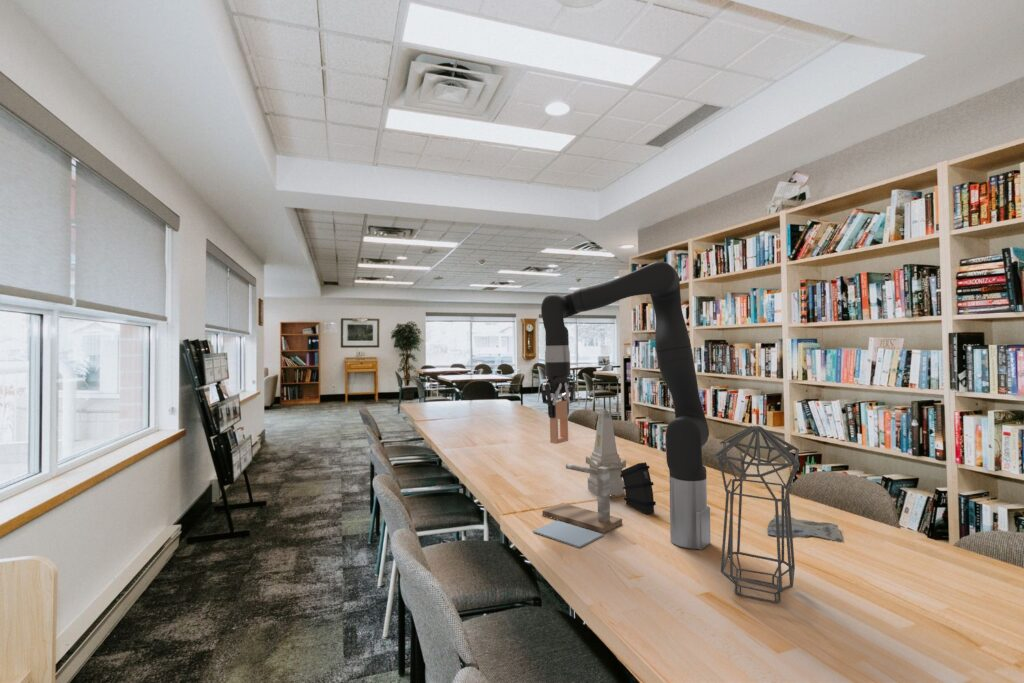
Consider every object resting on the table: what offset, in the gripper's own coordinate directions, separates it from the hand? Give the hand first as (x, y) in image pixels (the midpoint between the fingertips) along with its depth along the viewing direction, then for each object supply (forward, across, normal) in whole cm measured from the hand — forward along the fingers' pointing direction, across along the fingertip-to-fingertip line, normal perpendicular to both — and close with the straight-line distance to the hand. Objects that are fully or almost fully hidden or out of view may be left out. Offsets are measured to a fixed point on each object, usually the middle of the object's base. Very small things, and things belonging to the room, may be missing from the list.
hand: (558, 416), depth 147 cm
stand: (+31, +4, -4) cm, 32 cm away
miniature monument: (+31, +33, +6) cm, 46 cm away
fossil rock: (+33, +38, -55) cm, 74 cm away
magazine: (+31, +25, -11) cm, 42 cm away
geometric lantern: (+32, -6, -58) cm, 66 cm away
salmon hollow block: (+8, 0, 0) cm, 8 cm away
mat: (+31, -8, -9) cm, 33 cm away
